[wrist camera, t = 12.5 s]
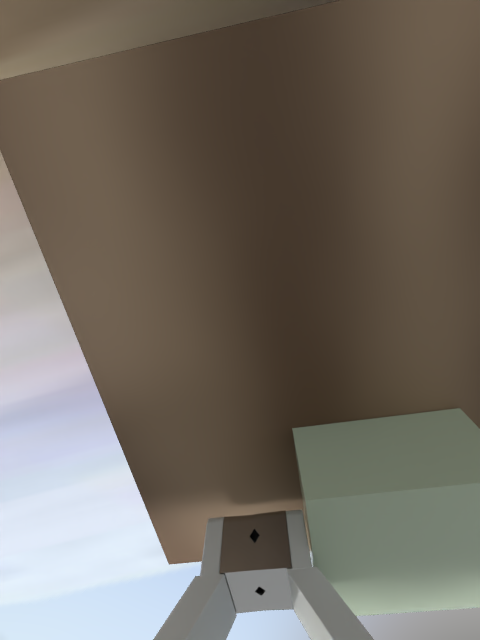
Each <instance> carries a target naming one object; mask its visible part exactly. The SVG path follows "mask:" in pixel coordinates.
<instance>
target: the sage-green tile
mask: <svg viewBox="0 0 480 640" xmlns="http://www.w3.org/2000/svg"><path fill="white" fill-rule="evenodd" d="M292 431H293V438H294V445H295V452H296V459H297V466H298V473H299V480H300V487H301V494H302V501H303V508H304V515H305V522H306V529H307V536H308V542H309V548H310V553H311V560H312V565H313V567H318V568H319V569H320V571H321V572H322V573H323V575H324V576H325V577H326V578H327V580H328V581H329V582H330V584H331V585H332V586H333V587H334V589H335V590H336V591H337V593H338V594H339V595H340V597H341V598H342V599H343V600H344V602H345V603H346V604H347V606H348V607H349V608H350V609H351V611H352V612H353V613H354V615H355V616H365V615H379V614H393V613H407V612H422V611H437V610H450V609H465V608H480V429H479V428H478V427H477V426H476V424H475V423H474V422H473V421H472V420H471V419H470V418H469V417H468V416H467V415H466V414H465V413H464V412H463V411H462V410H461V409H460V408H456V409H448V410H439V411H431V412H423V413H415V414H406V415H398V416H390V417H382V418H373V419H365V420H357V421H349V422H340V423H332V424H324V425H316V426H307V427H299V428H292Z"/></svg>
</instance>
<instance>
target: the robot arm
mask: <svg viewBox="0 0 480 640" xmlns="http://www.w3.org/2000/svg"><path fill="white" fill-rule="evenodd" d="M286 609H294V611H295V613H296V615H297V616H298V618H299V620H300V622H301V623H302V625H303V627H304V628H305V630H306V632H307V634H308V635H309V637H310V639H311V640H374V639H373V638H372V636H371V635H370V634H369V633H368V631H367V630H366V629H365V627H364V626H363V625H362V624H361V622H360V621H359V620H358V619H357V617H356V616H355V615H354V613H353V612H352V611H351V609H350V608H349V607H348V606H347V604H346V603H345V602H344V600H343V599H342V598H341V597H340V595H339V594H338V593H337V591H336V590H335V589H334V587H333V586H332V585H331V584H330V582H329V581H328V580H327V578H326V577H325V576H324V575H323V573H322V572H321V571H320V569H319V568H318V567H312V563H311V557H310V551H309V545H308V539H307V533H306V527H305V521H304V515H303V511H302V509H299V510H291V511H286V510H285V511H276V512H268V513H259V514H255V515H242V516H229V517H216V518H209V519H208V522H207V525H206V533H205V541H204V549H203V557H202V565H201V573H200V576H195V578H194V579H193V581H192V582H191V584H190V585H189V587H188V588H187V590H186V591H185V593H184V594H183V596H182V597H181V599H180V600H179V602H178V603H177V605H176V606H175V608H174V609H173V611H172V612H171V614H170V615H169V617H168V618H167V620H166V621H165V623H164V624H163V626H162V627H161V629H160V630H159V632H158V634H157V635H156V636H155V638H154V639H153V640H226V638H227V636H228V634H229V631H230V629H231V627H232V625H233V623H234V620H235V618H236V613H243V612H253V611H263V610H286Z"/></svg>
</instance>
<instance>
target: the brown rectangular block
mask: <svg viewBox="0 0 480 640" xmlns="http://www.w3.org/2000/svg"><path fill="white" fill-rule="evenodd" d="M0 150H1V153H2V155H3V158H4V160H5V163H6V165H7V168H8V170H9V172H10V175H11V177H12V180H13V182H14V185H15V187H16V190H17V192H18V195H19V197H20V199H21V202H22V204H23V207H24V209H25V212H26V214H27V217H28V219H29V222H30V224H31V226H32V229H33V231H34V234H35V236H36V239H37V241H38V244H39V246H40V249H41V251H42V253H43V256H44V258H45V261H46V263H47V266H48V268H49V271H50V273H51V276H52V278H53V281H54V283H55V285H56V288H57V290H58V293H59V295H60V298H61V300H62V303H63V305H64V308H65V310H66V312H67V315H68V317H69V320H70V322H71V325H72V327H73V330H74V332H75V335H76V337H77V339H78V342H79V344H80V347H81V349H82V352H83V354H84V357H85V359H86V362H87V364H88V366H89V369H90V371H91V374H92V376H93V379H94V381H95V384H96V386H97V389H98V391H99V393H100V396H101V398H102V401H103V403H104V406H105V408H106V411H107V413H108V416H109V418H110V420H111V423H112V425H113V428H114V430H115V433H116V435H117V438H118V440H119V443H120V445H121V448H122V450H123V452H124V455H125V457H126V460H127V462H128V465H129V467H130V470H131V472H132V475H133V477H134V479H135V482H136V484H137V487H138V489H139V492H140V494H141V497H142V499H143V502H144V504H145V506H146V509H147V511H148V514H149V516H150V519H151V521H152V524H153V526H154V529H155V531H156V533H157V536H158V538H159V541H160V543H161V546H162V548H163V551H164V553H165V556H166V558H167V560H168V563H169V564H178V563H189V562H199V561H202V557H203V549H204V541H205V533H206V525H207V522H208V519H209V518H216V517H229V516H242V515H255V514H259V513H268V512H276V511H285V510H286V511H291V510H299V509H302V511H303V515H304V508H303V501H302V494H301V487H300V480H299V473H298V466H297V459H296V452H295V445H294V438H293V431H292V428H299V427H307V426H316V425H324V424H332V423H340V422H349V421H357V420H365V419H373V418H382V417H390V416H398V415H406V414H415V413H423V412H431V411H439V410H448V409H456V408H460V409H461V410H462V411H463V412H464V413H465V414H466V415H467V416H468V417H469V418H470V419H471V420H472V421H473V422H474V423H475V424H476V426H477V427H478V428H479V429H480V0H339V1H335V2H330V3H326V4H322V5H318V6H313V7H309V8H305V9H300V10H296V11H292V12H288V13H283V14H279V15H275V16H271V17H266V18H262V19H258V20H254V21H249V22H245V23H241V24H237V25H232V26H228V27H224V28H220V29H215V30H211V31H207V32H203V33H198V34H194V35H190V36H186V37H181V38H177V39H173V40H169V41H164V42H160V43H156V44H152V45H147V46H143V47H139V48H134V49H130V50H126V51H122V52H117V53H113V54H109V55H105V56H100V57H96V58H92V59H88V60H83V61H79V62H75V63H71V64H66V65H62V66H58V67H54V68H49V69H45V70H41V71H37V72H32V73H28V74H24V75H20V76H15V77H11V78H7V79H3V80H0ZM304 521H305V515H304ZM305 527H306V522H305ZM306 533H307V529H306ZM307 539H308V536H307ZM308 545H309V542H308ZM309 551H310V548H309Z"/></svg>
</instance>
